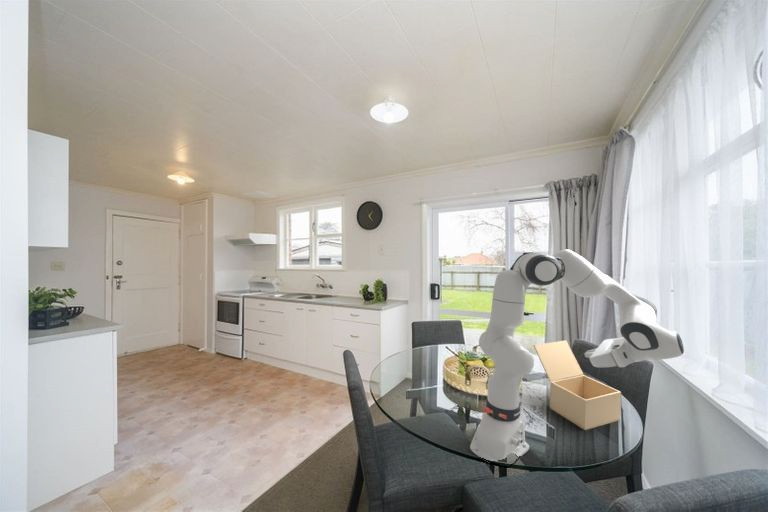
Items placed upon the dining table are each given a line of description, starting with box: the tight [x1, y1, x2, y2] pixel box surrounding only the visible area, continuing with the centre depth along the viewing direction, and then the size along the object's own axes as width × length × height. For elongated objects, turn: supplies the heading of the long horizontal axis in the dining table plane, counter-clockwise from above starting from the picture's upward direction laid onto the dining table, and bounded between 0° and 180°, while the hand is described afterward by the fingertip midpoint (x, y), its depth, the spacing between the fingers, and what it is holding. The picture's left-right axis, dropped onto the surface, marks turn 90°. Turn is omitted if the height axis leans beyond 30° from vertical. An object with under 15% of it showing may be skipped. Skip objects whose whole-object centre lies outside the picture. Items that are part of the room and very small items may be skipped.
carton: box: [549, 374, 622, 431], centre depth 125 cm, size 16×20×12 cm
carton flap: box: [533, 340, 584, 382], centre depth 136 cm, size 16×20×1 cm
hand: (586, 354), depth 119 cm, fingers closed
